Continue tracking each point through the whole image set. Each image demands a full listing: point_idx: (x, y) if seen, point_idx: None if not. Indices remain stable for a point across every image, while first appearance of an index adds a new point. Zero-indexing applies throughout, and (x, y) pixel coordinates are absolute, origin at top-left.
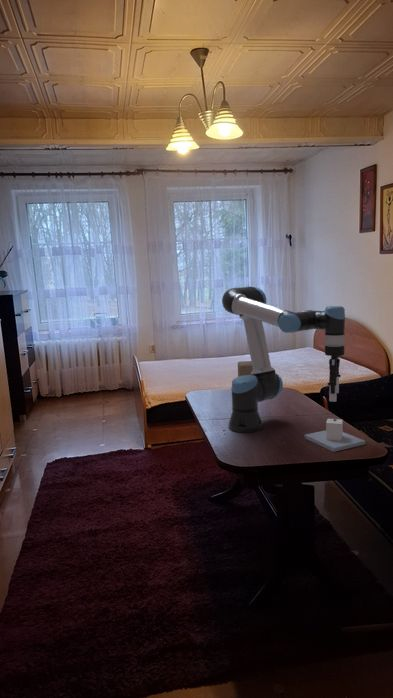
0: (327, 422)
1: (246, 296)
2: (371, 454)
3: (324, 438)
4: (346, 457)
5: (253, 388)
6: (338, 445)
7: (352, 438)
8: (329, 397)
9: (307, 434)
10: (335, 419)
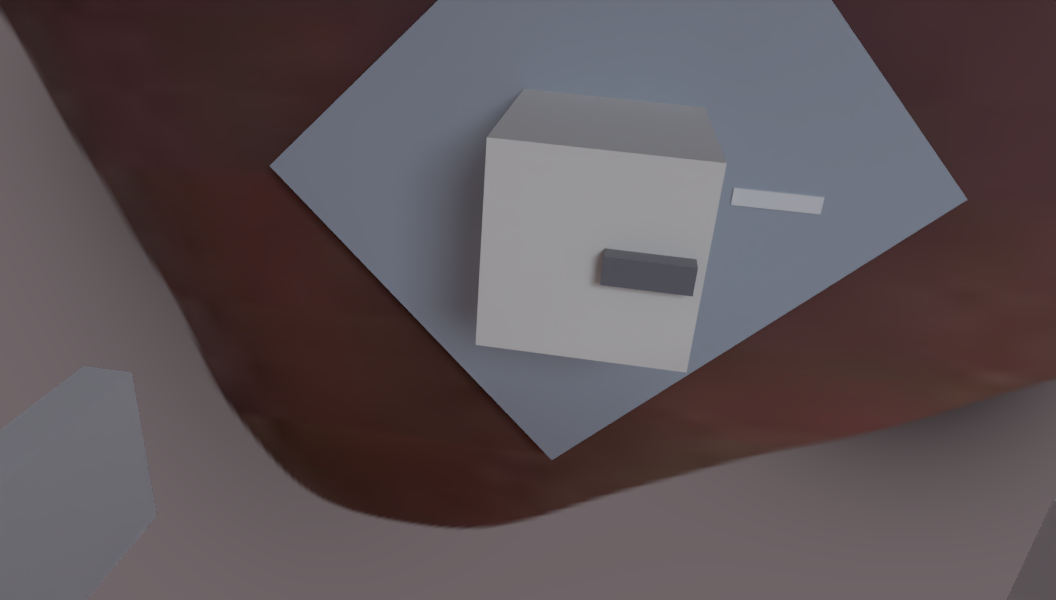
0: (508, 157)
1: None
2: (326, 450)
3: (554, 68)
4: (191, 259)
5: None
6: (359, 216)
7: (602, 363)
8: (5, 432)
9: None
10: (609, 284)
